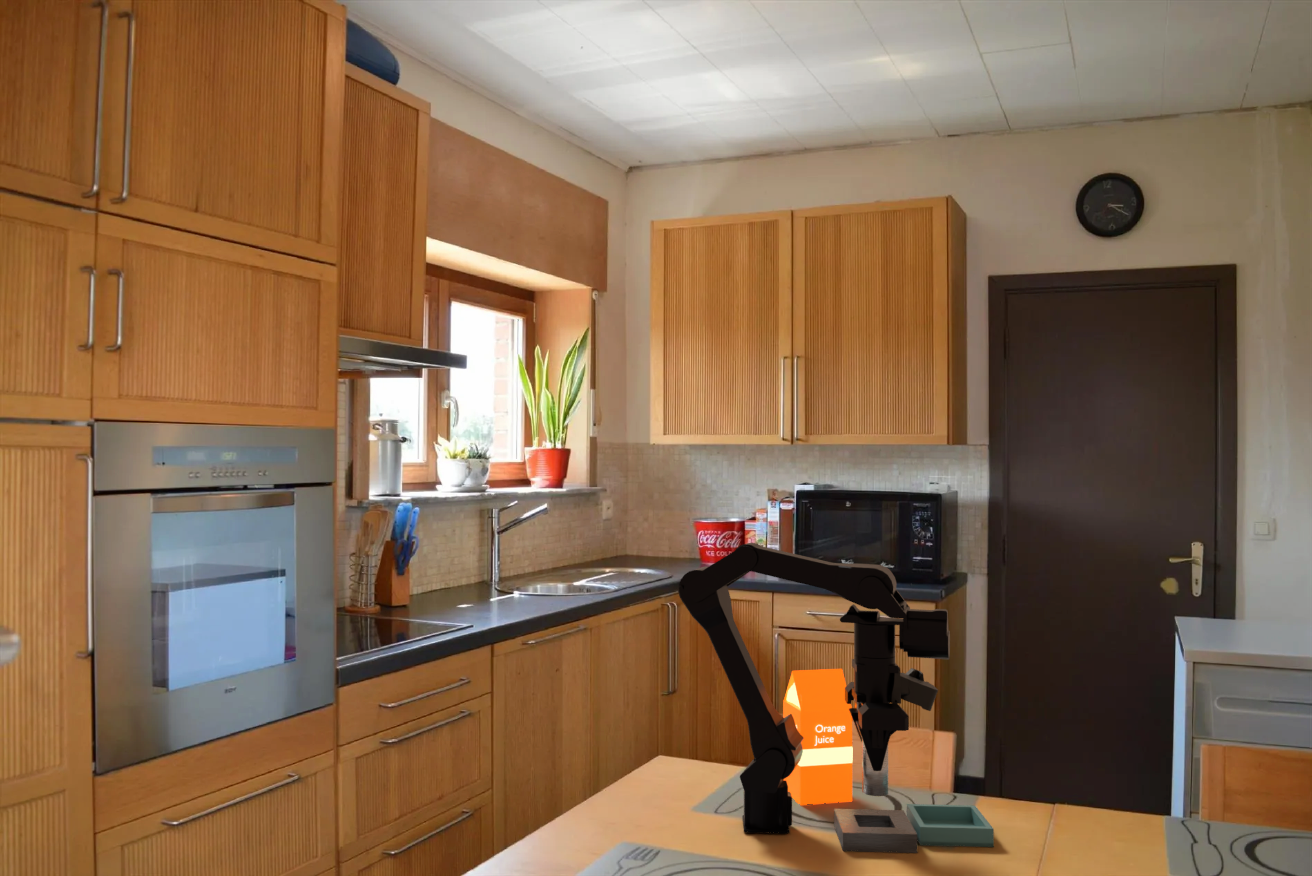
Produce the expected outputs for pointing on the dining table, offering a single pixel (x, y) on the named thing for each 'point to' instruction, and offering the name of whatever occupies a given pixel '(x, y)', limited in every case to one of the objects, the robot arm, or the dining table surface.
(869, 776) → the pin
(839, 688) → the orange juice
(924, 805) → the tray
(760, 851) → the dining table surface
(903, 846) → the grey flat square frame
